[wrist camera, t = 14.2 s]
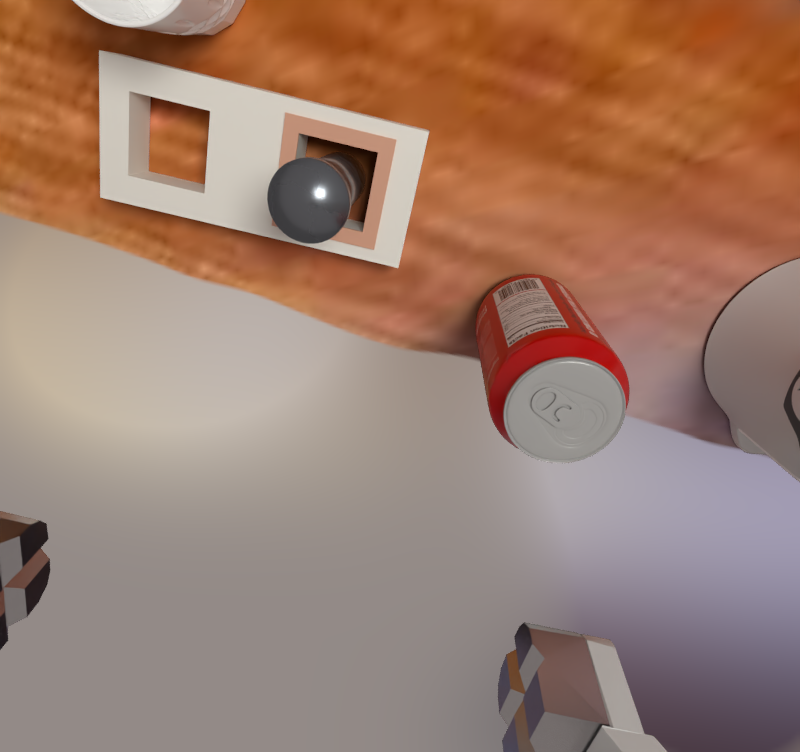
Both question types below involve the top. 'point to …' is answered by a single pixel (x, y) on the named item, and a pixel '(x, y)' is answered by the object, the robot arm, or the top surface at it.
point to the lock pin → (315, 195)
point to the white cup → (166, 14)
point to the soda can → (548, 371)
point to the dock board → (250, 154)
